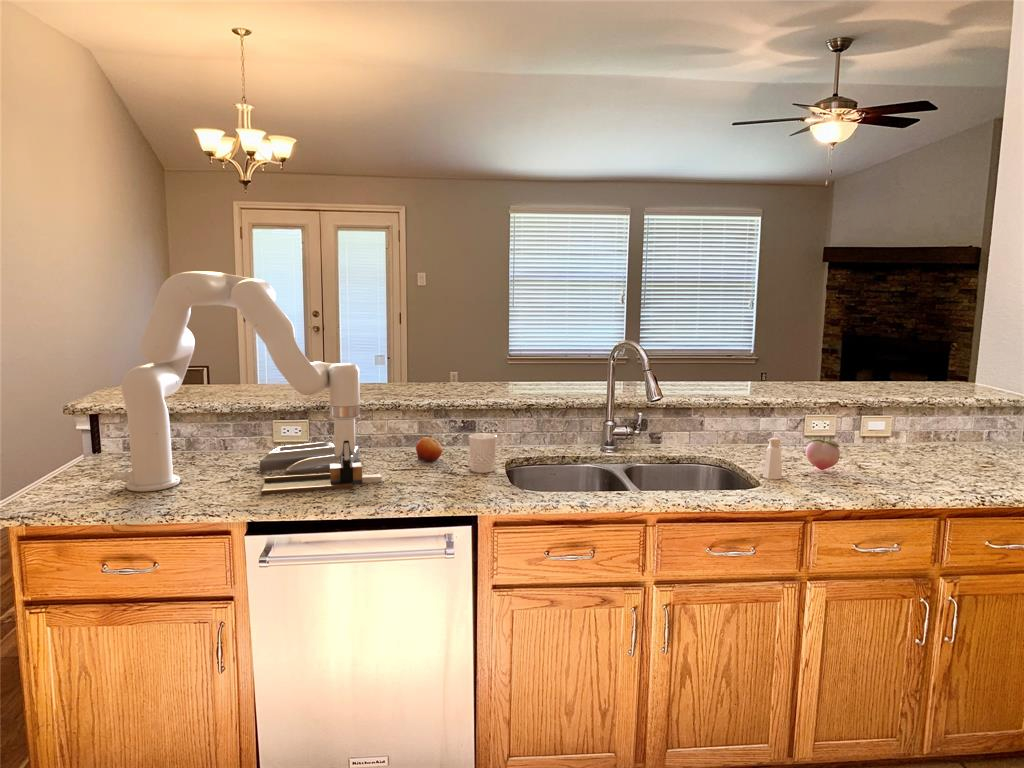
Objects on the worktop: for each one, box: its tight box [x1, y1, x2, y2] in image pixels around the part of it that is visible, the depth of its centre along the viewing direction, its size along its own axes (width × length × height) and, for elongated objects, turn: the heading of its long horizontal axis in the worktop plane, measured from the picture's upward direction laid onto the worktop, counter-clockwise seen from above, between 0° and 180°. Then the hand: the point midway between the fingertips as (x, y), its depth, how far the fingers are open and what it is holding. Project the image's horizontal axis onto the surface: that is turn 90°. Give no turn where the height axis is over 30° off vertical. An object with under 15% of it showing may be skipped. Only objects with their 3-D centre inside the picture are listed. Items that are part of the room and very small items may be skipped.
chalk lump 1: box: [361, 474, 373, 484], centre depth 185 cm, size 2×2×2 cm
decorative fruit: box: [805, 436, 841, 471], centre depth 204 cm, size 9×8×10 cm
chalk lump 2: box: [370, 473, 382, 483], centre depth 185 cm, size 2×2×2 cm
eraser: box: [329, 462, 363, 485], centre depth 183 cm, size 8×4×4 cm, turn 106°
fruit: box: [415, 436, 443, 463], centre depth 210 cm, size 8×8×8 cm
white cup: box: [468, 432, 497, 474], centre depth 200 cm, size 8×8×10 cm
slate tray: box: [260, 472, 353, 496], centre depth 181 cm, size 22×12×2 cm, turn 106°
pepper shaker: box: [762, 437, 783, 480], centre depth 196 cm, size 5×5×11 cm
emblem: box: [259, 441, 360, 476], centre depth 202 cm, size 28×5×28 cm
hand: (346, 478), depth 184 cm, fingers closed on eraser, 4 cm apart
